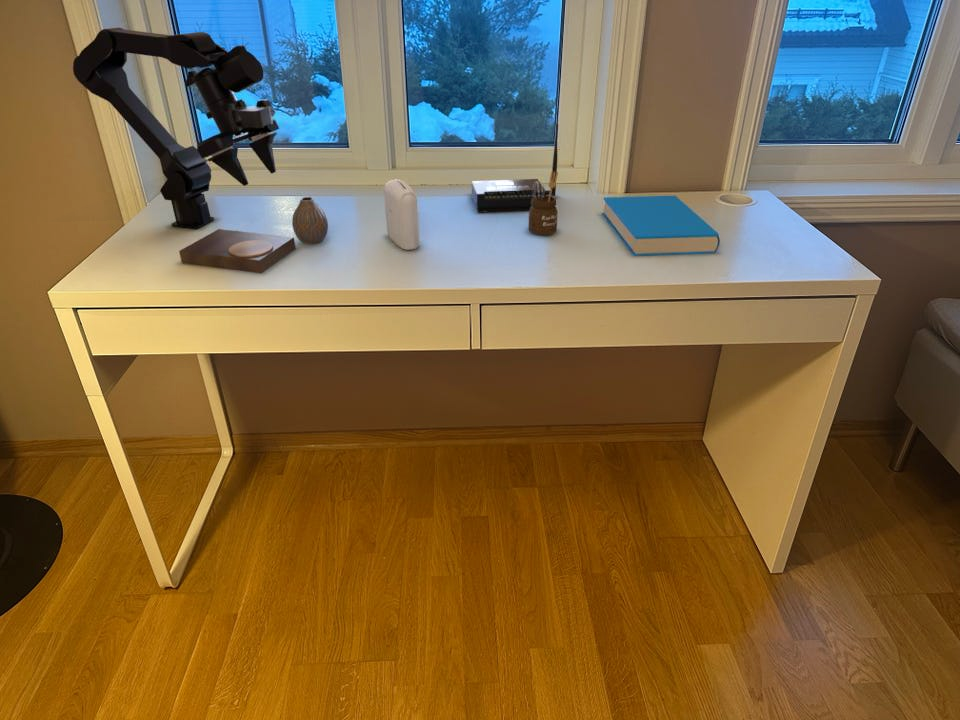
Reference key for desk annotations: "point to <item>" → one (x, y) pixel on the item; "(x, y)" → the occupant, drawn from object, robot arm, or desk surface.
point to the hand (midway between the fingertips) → (260, 178)
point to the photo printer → (401, 214)
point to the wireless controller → (510, 191)
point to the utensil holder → (543, 212)
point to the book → (659, 226)
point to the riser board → (238, 250)
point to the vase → (309, 222)
